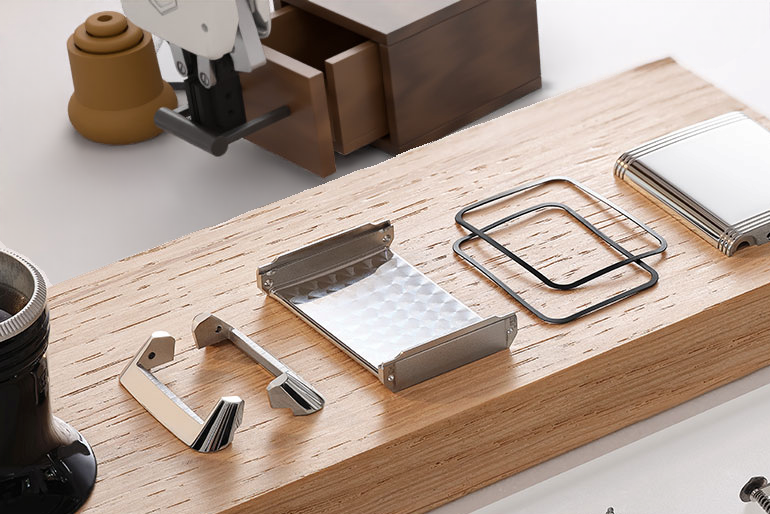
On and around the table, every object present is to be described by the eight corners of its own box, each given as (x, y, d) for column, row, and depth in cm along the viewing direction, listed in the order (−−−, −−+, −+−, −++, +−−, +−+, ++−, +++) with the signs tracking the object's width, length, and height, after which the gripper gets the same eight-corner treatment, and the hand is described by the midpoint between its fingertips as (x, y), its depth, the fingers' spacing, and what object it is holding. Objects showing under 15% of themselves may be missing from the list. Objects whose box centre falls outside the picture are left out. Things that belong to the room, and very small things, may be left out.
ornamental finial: (71, 104, 150) (178, 92, 151) (71, 155, 144) (182, 142, 146) (48, 0, 145) (159, -11, 146) (47, 48, 139) (162, 36, 141)
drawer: (244, 219, 136) (226, 116, 131) (142, 165, 141) (122, 65, 137) (461, 110, 147) (452, 12, 143) (360, 64, 153) (348, -31, 148)
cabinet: (400, 159, 144) (386, 34, 138) (288, 105, 150) (269, -17, 144) (542, 86, 152) (534, -34, 146) (430, 38, 158) (418, -79, 152)
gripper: (47, -154, 128) (104, 115, 140) (202, -89, 121) (248, 189, 132) (147, -188, 133) (194, 75, 144) (303, -128, 125) (339, 145, 137)
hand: (220, 129), depth 138 cm, fingers closed
